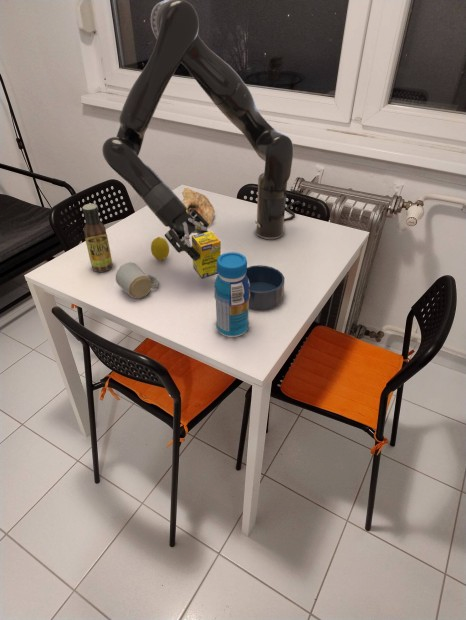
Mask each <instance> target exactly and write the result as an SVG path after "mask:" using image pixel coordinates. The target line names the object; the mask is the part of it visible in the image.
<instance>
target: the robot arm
mask: <svg viewBox="0 0 466 620" xmlns="http://www.w3.org/2000/svg"><path fill="white" fill-rule="evenodd" d="M199 21H200V20H199V15H198V13H197V11H196V9H195V7H194V6H193V5H192V4H191V3H190V2H189V1H187V0H162V1H160V2H158V3H156V4H155V6H154V7H153V8H152V10H151V14H150V26H151V30H152V33H153V35H154V37H155V39H156V42H155V45H154V48H153V50H152V53H151V55H150V57H149V58H148V61H147V63H146V65H145V66H144V68H143V69H142V71H141V72H140V74H139V75H138V77H137V78H136V80H135V81H134V83H133V84H132V87H131V88H130V90H129V92H128V94H127V97H126V99H125V101H124V104H123V106H122V110H121V111H120V114H119V117H118V122H119V128H118V130H117V134H116V136H111V137H109V138H107V139H106V140H105V141H104V142H103V144H102V147H101V148H102V149H101V151H102V157H103V159H104V160H105V162H106V163H107V165H109V167H110V168H111V169H112V170H113V171H114V172H115V173H117V175H118V176H119V177H121V178H122V179H123V180H124V181H125V182H127V183H128V184H129V185H130V186H131V188H132V189H133V190H134V191H135V192H136V194H137V195H138V196H139V197H140V198H141V199H142V200H143V201H144V203H145V205H146V207H148V208H149V210H150V211H151V212H152V214H153V215H154V216H155V217H156V218H157V219H158V220H159V222H161V223H162V224H163V226H164V227H166V228H169V230H168V231H167V232H166V233H165V234H164V237H165V239H166V241H167V242H168V243H169V244H170V245H171V246H172V247H173V248H174V249H175V251H176V252H177V253H179V254H180V253H181V252H185V253H186V254H187V255H188V257H190V259H191V260H192V261H193V260H194V261H197V260H198V259H199V258H200V257H201V256H200V254H199V253H198V252H197V251H196V250H195V249H194V248H193V246H192V243H191V241H190V238H191V236H190V235H192V234H196V235H197V234H201V233H205V232H209V231H208V227H209V224H208V223H207V221H206V220H205V219H204V218H203V217H202V216H201V215H200V214H199V213H198V212H197V211H196V210H195V209H194V210H193V211H192V212H191V213H190V214H188V213H187V212H186V210H187V208H186V206H185V205H184V204H183V203H182V202H181V201H182V200H181V199H180V198H179V197H178V196H177V194H176V193H175V192H174V191H173V190H172V189H171V188H170V186H169V185H167V184H166V183H165V182H164V181H163V180H162V179H161V177H160V176H159V175H158V174H157V173H156V172H155V170H154V169H153V168H152V167H150V166H149V165H147V164H145V163H144V161H143V160H142V159H141V158H140V157H139V155H140V152H141V149H142V145H143V143H144V138H145V135H146V132H147V130H148V128H149V125H150V124H151V122H152V120H153V117H154V115H155V112H156V110H157V107H158V105H159V103H160V101H161V99H162V96H163V95H164V92H165V90H166V88H167V87H168V84H169V82H170V81H171V79H172V78H173V75H174V74H175V72H176V70H177V69H178V67H179V65H180V64H182V65H183V66H184V68H185V69H186V70H187V71H188V72H189V73H190V74H191V76H192V77H193V79H194V81H196V83H197V84H198V85H199V87H200V88H201V89H202V90H203V91H204V93H205V94H206V95H207V97H208V98H209V99H210V100H211V101H212V103H213V104H214V105H215V106H216V108H217V109H218V110H219V111H220V113H222V114H223V115H224V116H225V117H226V118H227V119H228V121H230V123H232V124H233V125H234V127H236V129H238V130H239V131H240V132H241V133H242V134H243V135H244V137H245V139H246V140H247V141H248V143H249V144H250V146H251V147H252V148H253V150H254V152H255V153H256V155H257V156H258V157H259V158H260V159H261V160H262V161H264V171H263V172H262V173H261V174H259V176H258V179H257V203H256V220H255V225H256V230H255V234H256V236H257V237H258V238H261V239H263V240H278V239H280V238H281V237H283V235H284V226H285V225H284V224H285V222H286V221H291V220H292V219H294V218H295V216H296V213H295V212H294V211H293V210H291V209H290V208H291V206H294V205H296V204H298V205H303V203H302V202H301V201H299V200H297V201H293V202H291V203H289V204H288V205H287V206H286V201H287V189H288V182H289V179H290V178H291V174H292V166H293V158H294V144H293V141H292V139H291V138H290V137H289V136H288V135H286V134H284V133H282V132H281V131H278V130H277V129H275V128H274V127H273V126H272V125H271V124H270V123H269V122H268V121H267V120H266V119H265V118H264V117H263V115H262V114H261V113H260V111H259V109H258V107H257V104H256V101H255V98H254V96H253V94H252V92H251V91H250V89H249V87H248V86H247V84H246V83H245V82H244V81H243V79H242V78H241V76H240V75H239V74H238V73H237V72H236V71H235V69H233V67H232V66H231V65H230V64H228V63H227V62H226V61H225V60H223V59H222V58H221V57H220V56H219V55H217V54H216V53H215V52H214V51H213V50H211V49H210V48H209V47H208V46H207V45H206V43H205V42H204V41H203V40H202V38H201V36H200V35H199V29H200V23H199ZM286 211H287V212H288V213H290V214H291V216H289V217H287V218H285V212H286ZM200 221H201V222H202V223H203V224H204V225H202V224H201V223H200Z"/></svg>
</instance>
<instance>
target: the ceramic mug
mask: <svg viewBox="0 0 466 620" xmlns="http://www.w3.org/2000/svg"><path fill="white" fill-rule="evenodd" d="M115 281H116V284H117V285H118V286H119V287H120V288H121V289H123V291H125V293H126V294H127V295H128V296H130V297H132V298H134V299H141V298H145V297H146V296H147V295H148V294H149V293H150V291H151V290H153V289H157V288H158V287H159V284H160V281H159V279H158V278H156V277H155V276H153V275H150V274H147V273H146V272H145V271H144V270H143V269H142V268H141V267H140V265H138V264H137V263H135V262H126V263H124V264H123V265H121V266H120V267H119V268H118V269H117V271H116V273H115Z"/></svg>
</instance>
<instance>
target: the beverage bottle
mask: <svg viewBox="0 0 466 620" xmlns="http://www.w3.org/2000/svg"><path fill="white" fill-rule="evenodd" d="M247 267H248V260H247V257H246V255H244V254H242V253H240V252H234V251H230V252H229V251H228V252H224V253H222V254H221V255H220V256H219V257H218V259H217V272H218V274H217V276H216V277H215V281H214V293H213V294H214V296H213V297H214V299H215V314H216V315H215V317H216V320H215V326H216V330H217V331H218V333H219V334H221V335H222V336H224V337H227V338H237V337H240V336H243V335H244V334H245V333H246V332H247V331H248V329H249V328H250V327H249V326H250V324H249V321H250V320H249V312H250V311H249V310H250V309H249V299H250V290H249V287H250V282H249V279H248V277H247V276H246V272H247Z"/></svg>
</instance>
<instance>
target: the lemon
mask: <svg viewBox="0 0 466 620" xmlns="http://www.w3.org/2000/svg"><path fill="white" fill-rule="evenodd" d="M150 251H151V255H152V256H153V257H154V258H155V259H156V260H160V261H164V259H166V258H167V257H168V256H169V254H170V246H169V242H168V240H167V239H166V238H164V237H160V236H157V237H156V238H153V239H152V241H151V243H150Z"/></svg>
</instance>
